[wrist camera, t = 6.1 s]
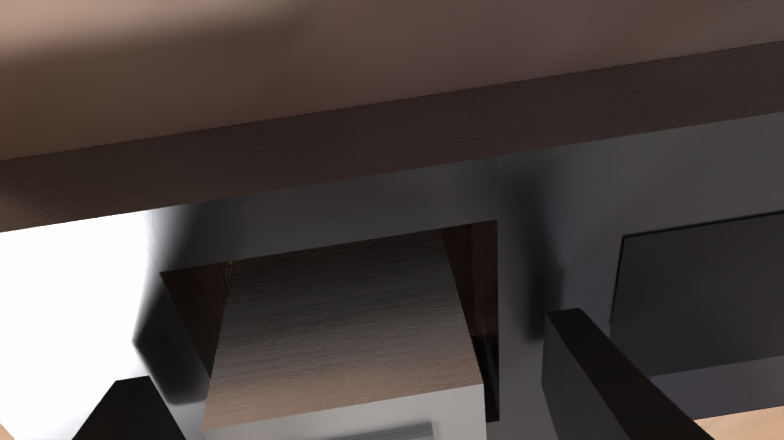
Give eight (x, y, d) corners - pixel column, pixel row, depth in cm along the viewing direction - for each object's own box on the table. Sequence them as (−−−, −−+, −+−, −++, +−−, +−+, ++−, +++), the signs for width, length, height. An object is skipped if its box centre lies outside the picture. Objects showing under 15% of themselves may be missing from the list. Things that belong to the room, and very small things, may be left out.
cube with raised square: (429, 191, 12) (485, 392, 8) (443, 322, 14) (493, 531, 10) (241, 221, 12) (198, 440, 8) (287, 348, 14) (272, 567, 10)
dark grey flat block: (892, 24, 11) (1029, 75, 9) (774, 319, 15) (844, 398, 13) (-59, 170, 11) (-151, 257, 8) (116, 423, 15) (84, 519, 13)
